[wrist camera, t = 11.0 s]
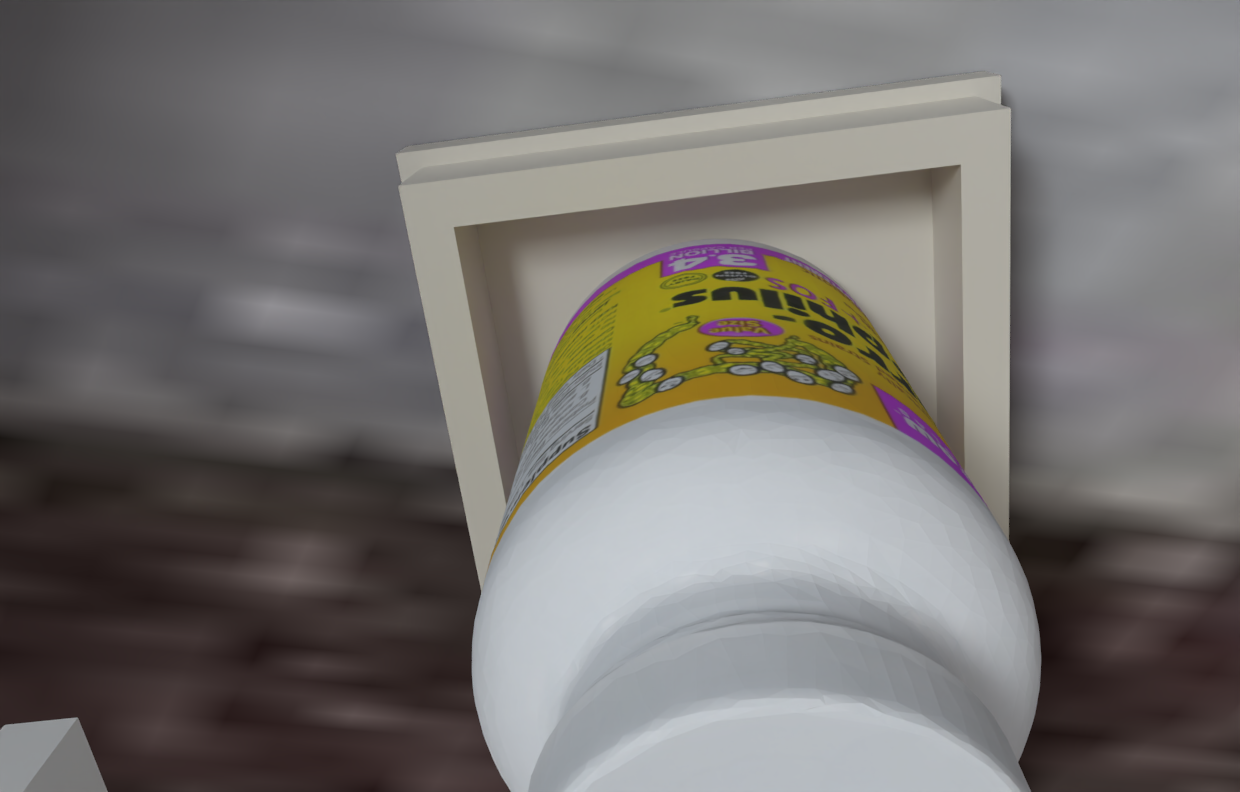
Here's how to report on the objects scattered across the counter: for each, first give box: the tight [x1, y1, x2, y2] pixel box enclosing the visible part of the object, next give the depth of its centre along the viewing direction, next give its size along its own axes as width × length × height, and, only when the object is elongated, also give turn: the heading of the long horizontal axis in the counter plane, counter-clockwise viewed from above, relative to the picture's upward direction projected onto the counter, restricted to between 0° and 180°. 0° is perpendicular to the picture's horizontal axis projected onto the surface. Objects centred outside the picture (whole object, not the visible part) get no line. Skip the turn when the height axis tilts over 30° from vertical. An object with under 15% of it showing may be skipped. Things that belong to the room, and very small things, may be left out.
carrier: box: [396, 71, 1011, 592], centre depth 22 cm, size 20×11×3 cm, turn 7°
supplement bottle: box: [472, 239, 1041, 792], centre depth 15 cm, size 7×7×13 cm
